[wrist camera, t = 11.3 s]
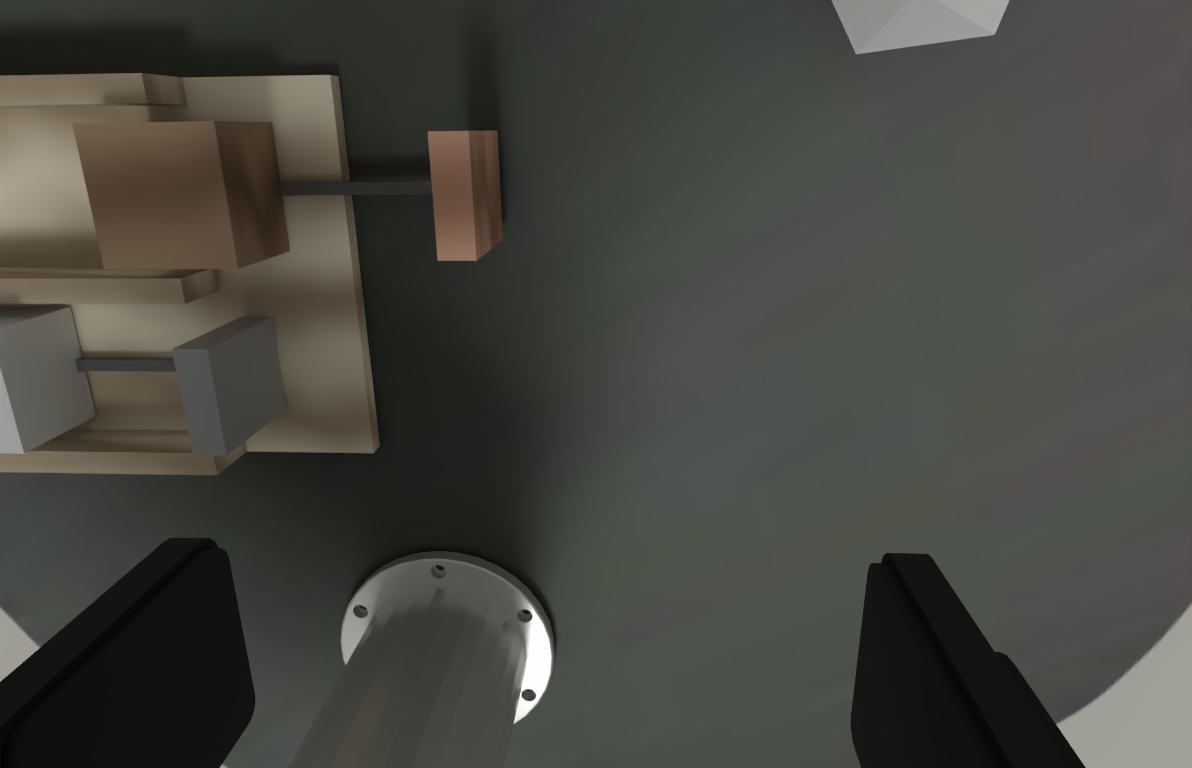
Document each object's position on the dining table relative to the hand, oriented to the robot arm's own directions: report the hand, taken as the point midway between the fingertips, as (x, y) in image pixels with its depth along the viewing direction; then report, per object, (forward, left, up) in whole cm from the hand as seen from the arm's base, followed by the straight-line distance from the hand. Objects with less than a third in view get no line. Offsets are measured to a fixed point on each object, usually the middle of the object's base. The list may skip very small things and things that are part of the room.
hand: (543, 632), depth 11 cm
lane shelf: (0, +25, -28) cm, 37 cm away
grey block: (-4, +26, -27) cm, 38 cm away
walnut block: (+4, +14, -27) cm, 31 cm away
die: (+14, -12, -28) cm, 34 cm away
